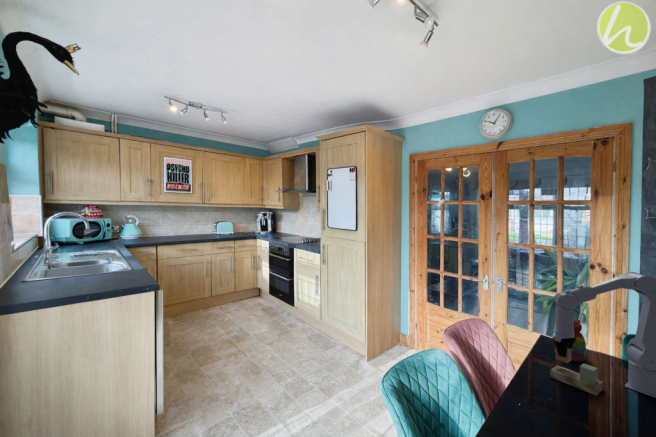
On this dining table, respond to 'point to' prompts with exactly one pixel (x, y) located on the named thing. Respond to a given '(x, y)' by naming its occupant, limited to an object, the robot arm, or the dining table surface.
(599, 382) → the birch board
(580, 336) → the stacking bear
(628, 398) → the dining table surface
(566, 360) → the terracotta block
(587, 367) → the sage block
